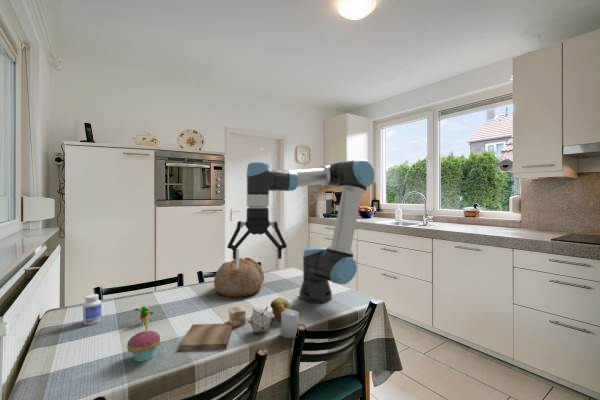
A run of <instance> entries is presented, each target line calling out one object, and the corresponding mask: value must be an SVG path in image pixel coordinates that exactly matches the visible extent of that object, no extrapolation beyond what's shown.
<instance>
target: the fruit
mask: <svg viewBox="0 0 600 400" xmlns="http://www.w3.org/2000/svg"><path fill="white" fill-rule="evenodd" d="M270 307H271V309H272V314H273V316H274V318H275V319H276V320H277V321H281V313H282V312H283V311H286V310H291V305H290V302H289V300H288V299H286V298H285V297H277V298H275V299H273V300H272V301H271V302H270Z"/></svg>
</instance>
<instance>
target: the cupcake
mask: <svg viewBox="0 0 600 400" xmlns="http://www.w3.org/2000/svg"><path fill="white" fill-rule="evenodd" d="M148 315H149V313H147V316H146V325H144V327H145V328H144V330H143V331H139V332H137V333H136V334H134V335H133V336H131V338H130V339H129V340H128V341H127V351H128V352H129V353H131V354H132V356H133V358H134V360H135V362H139V363H141V362H146V361H148V360H150V359H151V358H152V357H154V354H155V351H156V348H157V346H159V345H160V343H161V338H160V337H161V334H159V333H158V332H157V331H153V330H149V328H148V327H149V317H148Z"/></svg>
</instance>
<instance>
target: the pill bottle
mask: <svg viewBox="0 0 600 400" xmlns="http://www.w3.org/2000/svg"><path fill="white" fill-rule="evenodd" d="M84 301H85V302H84V303H83V305H82V312H83V313H82V314H83V315H82V317H83V320H82V321H83V325H85V326H88V325H89V326H90V325H95V324H98V323H100V322H101V321H102V301H101V299H99V294H98V293H93V294H88V295H86V296H85V298H84Z"/></svg>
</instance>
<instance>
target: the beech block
mask: <svg viewBox="0 0 600 400" xmlns="http://www.w3.org/2000/svg"><path fill="white" fill-rule="evenodd" d="M228 323H233V327H236V326H242V325H246V309H245V308H244V306H242V305H239V306H233V307H229V308H228Z"/></svg>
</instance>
